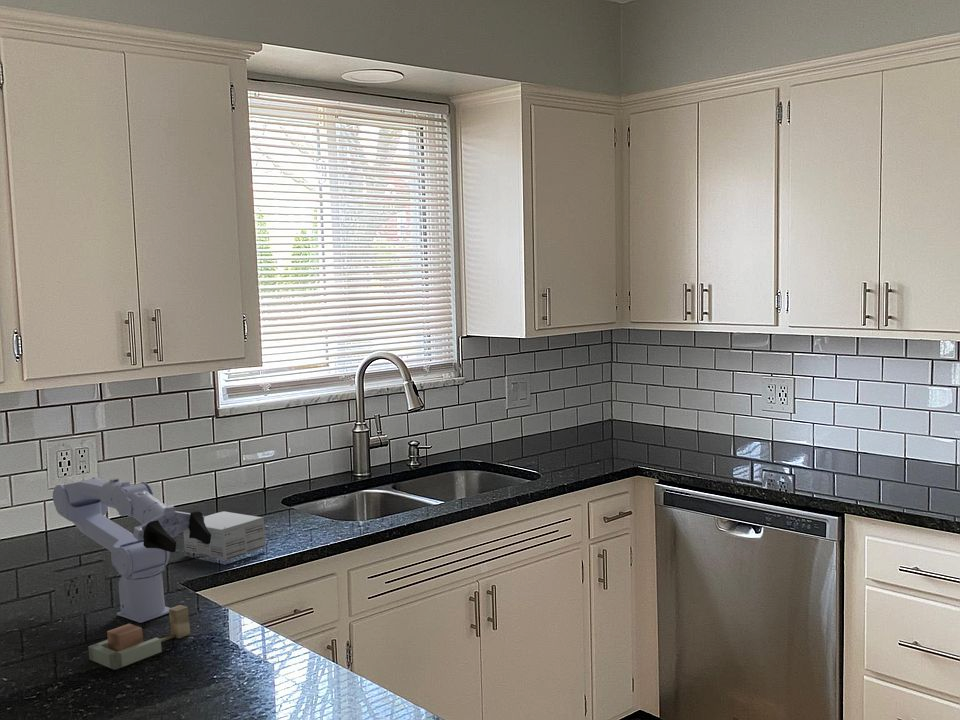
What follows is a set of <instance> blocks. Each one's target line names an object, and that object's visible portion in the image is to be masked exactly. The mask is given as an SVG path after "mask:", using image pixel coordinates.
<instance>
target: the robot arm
mask: <svg viewBox="0 0 960 720" xmlns="http://www.w3.org/2000/svg"><path fill="white" fill-rule="evenodd" d="M52 500H53V501H52V502H53V504H54V507H55V510H56V512H57V514H58V515H60V516H61V517H63V518H64V519H65V520H68V522H72V523H73V524H74V526H75V527H76V528H77V529H78V530H79V532H81V533H82V534H83V535H85V536H87V537H88V538H89V539H91V540H92V541H94V542H95V543H97V544H98V545H100V546H102V548H104V549H106V550H107V551H109V552H110V553H111V554H110V555H111V556H110V557H111V559H110V561H111V564H112V566H113V567H114V568H115V569H116V571H117V573H118V574H119V575H120V576H121V577H120V579H119V581H118V594H119V603H120V604H119V606H120V611H119V612H117V613H116V615H117V616H118V617H122V618H125V619H128V620H131V621H134V622H137V623H140V624H141V623H144V622H147V621H150V620H153V619H157V618H159V617H162V616H164V615H167V614H168V615H169V609H170V608H171V607H169V606H166V604H165V603H166V601H165V592H164V590H165V589H164V581H163V580H164V579H163V571H165V570H166V567H165V566H167V565H168V563H169V560H170V554H171V553H176V549H177V541H176V540H175V538H174V537H177V536H178V535H181V534H182V533H183V531H185V530H187V529H188V528H189V530H190V535H189V538H195V539H198V540H200V541H201V542H203V543H205V544H209V543H210V541H211V534H210V532H209V531H208V529H207V527H206V525H205V523H204V517H205V515H204V514H203V513H202V512H201V511H200V510H196V511H191V512H184V511H178V510H176V507H175V506H173V505H169V506H168V505H166V504H165V503H164V502H162V501H161V500H160V499H158V498H157V497H155V495H154V493H153V490H152V488H151V486H150V485H149V484H148V483H146V482H145V481H142V482H140V483H137V484H132V483H131V481H130V482H129V481H120V478H118V477H117V478H116V477H115V478H110V479H109V480H108V481H106V482H105V481H103V480H102V479H101V477H92V478H88V479H85V480H79V481H75V482H74V481H73V482H69V483H65V484H57V485H55V487H54V489H53V490H52ZM108 508H112V509H116V511H117V512H118V515H119V516H120V517H125V516H127V517H129V518H131V517H132V518H134V519H135V520H136V521H137V522H138V523H141V525H138V526H134V527H133V533H132V532H130V531H129V530H128V529H126V528H124V527H122V526H121V525H120V524H118V523H116V522H114V521H113V520H111V519H109V517H106V516H105V515H106V514H107V513H108Z"/></svg>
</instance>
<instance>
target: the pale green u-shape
mask: <svg viewBox="0 0 960 720" xmlns="http://www.w3.org/2000/svg"><path fill="white" fill-rule="evenodd" d="M161 639H162V638H159V637H154V638H151V639H147V640H145V641H143V642H142V643H140V644H137V645H134V646H132V647H129V648H126V649H124V650H121V651H118V652H116V651H113V650H110V649H109V646H108V639H105V640H102V641H100V642H97V643H94V644H92V645H89V646H88V657H89V660H90V661H92V662H95V663H97V664H99V665H101V666H104V667H107V668H109V669H111V670H113V671H114V670H119V669H120V668H124V667H126V666H128V665H131V664H134V663H136V662H139V661H142V660H144V659H146V658H150V657H152V656H155V655H157V654H160V653H162V652H163V651H162V650H163V649H162V642H161Z"/></svg>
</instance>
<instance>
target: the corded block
mask: <svg viewBox="0 0 960 720" xmlns="http://www.w3.org/2000/svg"><path fill="white" fill-rule="evenodd" d="M169 608H170V609H169V613H168V616H169V624H170V626H169V627H170V634H171V635H168V636H165V637H163V638H160V639H161V643H162V642H165V641H168V640H171V639H173V638H174V639H175V638H176V639H181V638H184V637H186V636H189V635H191V627H190V625H191V624H190V617H189V616H190V615H189V614H190V613H189V607H188V606H185V605H182V604H179V605H176V606H173V607H169ZM106 634H107V640H108V646H109V649H110V650H113V651H116V652H118V651H121V650H124V649H126V648H129V647H132V646H134V645H137V644H140V643H142V642H144V635H143V628H142V627H140V626H138V625H135V624H132V623H127V624H124V625H121V626H118V627H116V628H113V629H109V630H107V631H106Z"/></svg>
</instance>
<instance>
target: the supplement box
mask: <svg viewBox="0 0 960 720" xmlns="http://www.w3.org/2000/svg"><path fill="white" fill-rule="evenodd" d="M264 522H265V519H264V517H263V516H255V515H249V514H243V513H237V512H230V511H224V510H223V511H220V512H216V513H212V514H209V515H204V523H205V525H206V527H207V529H208V531H209V532H210V534H211V541H210V543H209V544H205V543H203V542H201V541H200V540H198V539H195V538H189V535H190V530H189V528H188V529H187V530H185V531H183V532H182V533H183V543H184V552H185V551H186V552H190V553H195V554H199V555H202V556H207V557H212V558H216V559H220V560H224V561H225V560H228V559H231V558H235V557H238V556H241V555H243V554H246V553H249V552H252V551H255V550H258V549H261V548H264V547H266V548H267V543H266V534H265V532H266V530H265V523H264Z"/></svg>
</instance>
